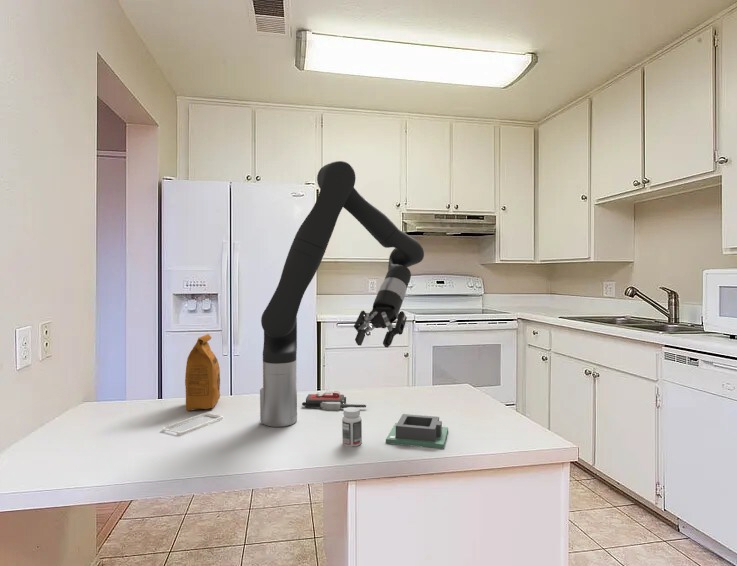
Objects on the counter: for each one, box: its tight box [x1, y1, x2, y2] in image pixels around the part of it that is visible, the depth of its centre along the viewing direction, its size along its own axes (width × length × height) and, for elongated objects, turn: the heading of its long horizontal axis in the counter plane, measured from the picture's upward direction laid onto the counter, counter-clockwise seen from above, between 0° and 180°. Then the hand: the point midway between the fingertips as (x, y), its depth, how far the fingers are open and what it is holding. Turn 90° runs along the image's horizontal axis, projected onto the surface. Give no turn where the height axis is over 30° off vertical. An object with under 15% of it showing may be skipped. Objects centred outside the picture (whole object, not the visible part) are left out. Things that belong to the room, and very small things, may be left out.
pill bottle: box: [341, 407, 363, 447], centre depth 110 cm, size 5×5×8 cm
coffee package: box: [184, 333, 221, 412], centre depth 141 cm, size 10×12×22 cm
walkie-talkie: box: [301, 390, 367, 411], centre depth 141 cm, size 9×4×20 cm
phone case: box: [161, 412, 224, 436], centre depth 124 cm, size 7×1×15 cm
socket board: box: [385, 413, 449, 449], centre depth 114 cm, size 14×12×4 cm
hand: (371, 344), depth 119 cm, fingers open, 8 cm apart
